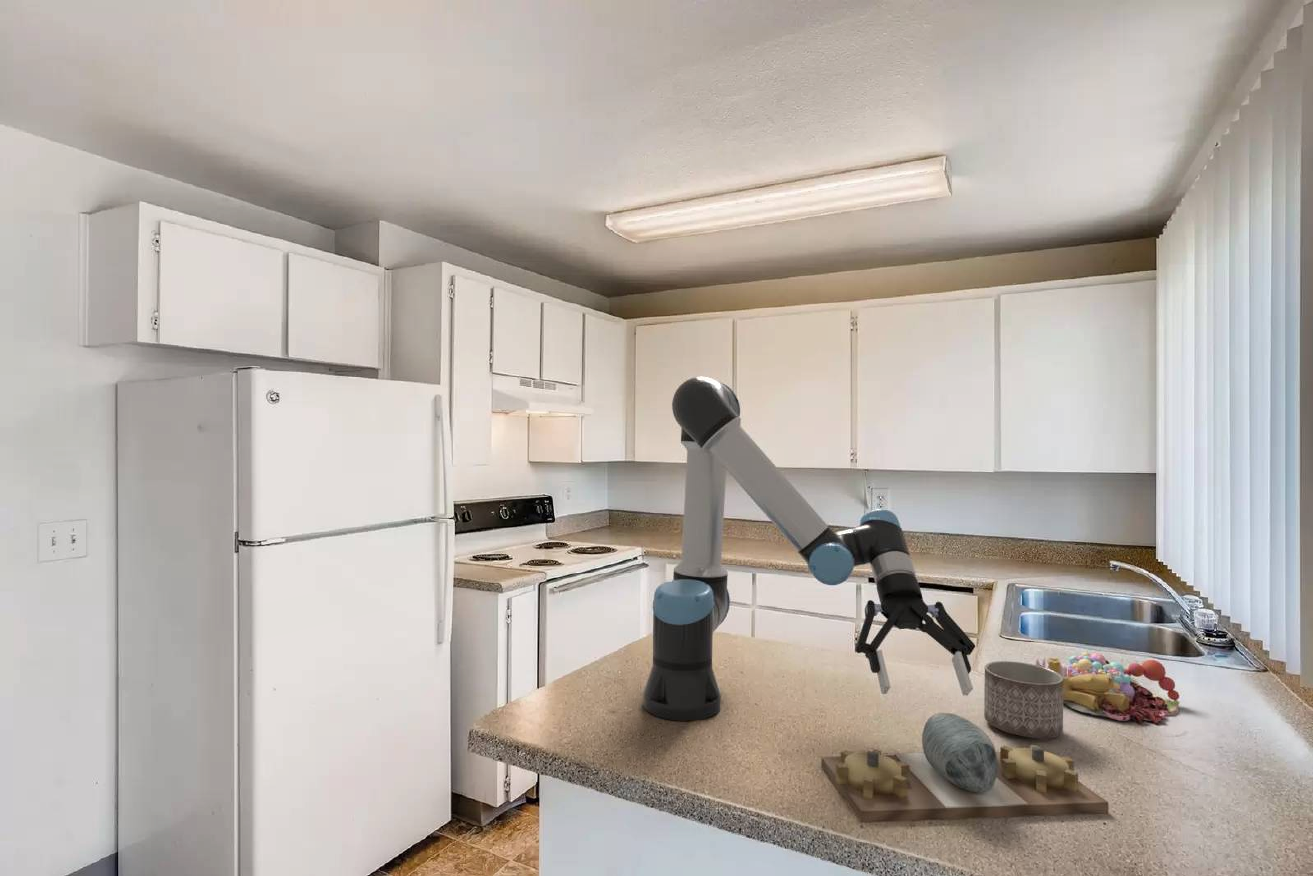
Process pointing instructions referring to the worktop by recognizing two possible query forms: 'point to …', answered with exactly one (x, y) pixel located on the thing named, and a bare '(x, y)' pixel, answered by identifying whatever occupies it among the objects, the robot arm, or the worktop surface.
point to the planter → (1023, 699)
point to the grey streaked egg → (960, 752)
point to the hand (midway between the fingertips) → (927, 691)
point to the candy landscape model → (1115, 688)
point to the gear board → (924, 794)
